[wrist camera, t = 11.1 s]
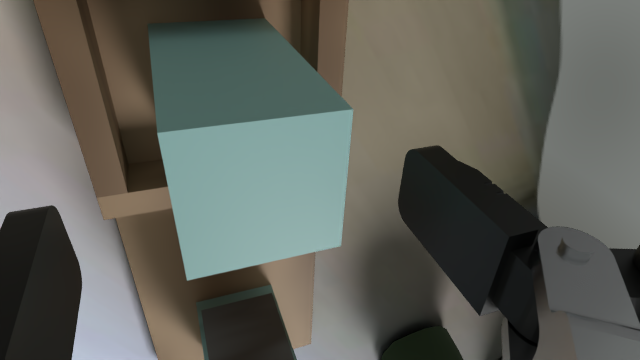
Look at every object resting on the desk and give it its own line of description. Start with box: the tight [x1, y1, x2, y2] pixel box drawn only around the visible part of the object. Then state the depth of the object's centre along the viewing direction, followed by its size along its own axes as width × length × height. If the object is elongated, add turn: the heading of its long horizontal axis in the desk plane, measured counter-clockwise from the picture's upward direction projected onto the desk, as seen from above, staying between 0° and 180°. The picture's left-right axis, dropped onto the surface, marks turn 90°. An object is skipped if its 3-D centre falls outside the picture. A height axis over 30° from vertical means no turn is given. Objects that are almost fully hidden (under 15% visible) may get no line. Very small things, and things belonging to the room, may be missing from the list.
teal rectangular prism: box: [148, 18, 353, 281], centre depth 13 cm, size 4×4×8 cm
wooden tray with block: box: [33, 0, 349, 360], centre depth 17 cm, size 9×23×10 cm, turn 178°
